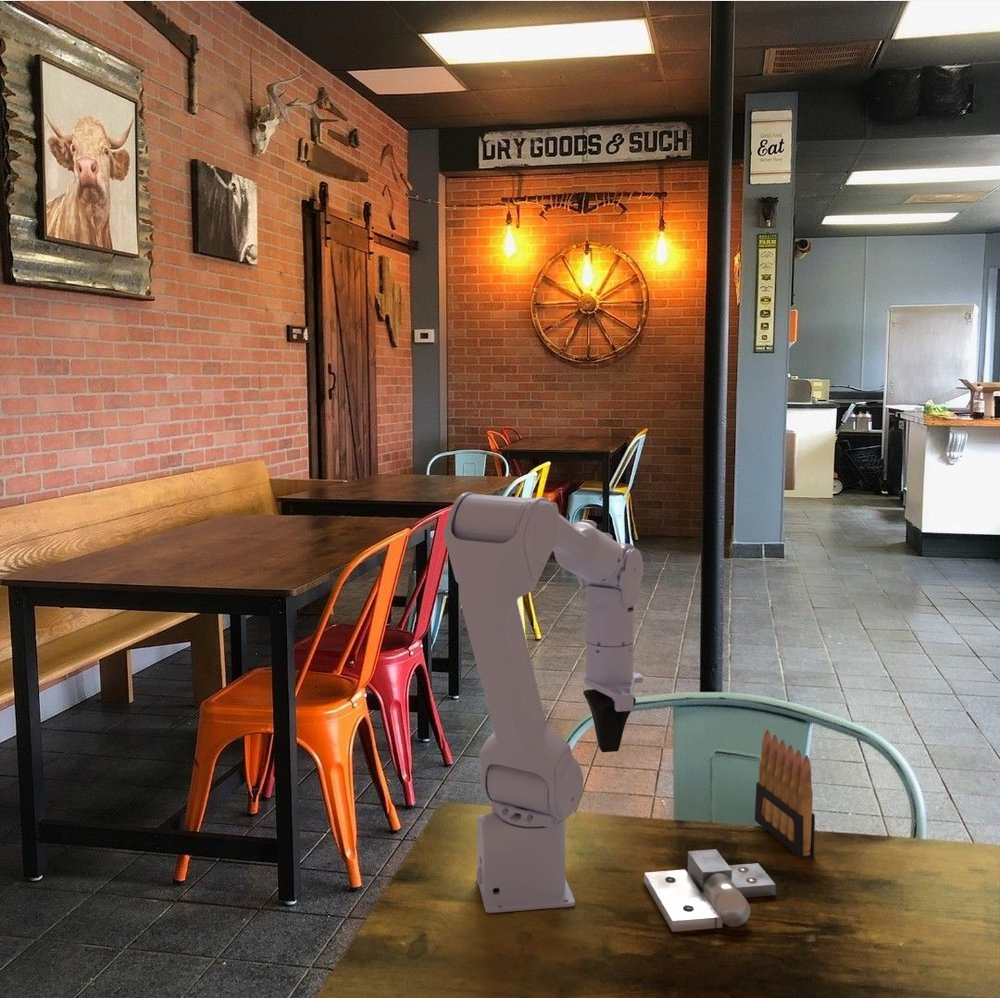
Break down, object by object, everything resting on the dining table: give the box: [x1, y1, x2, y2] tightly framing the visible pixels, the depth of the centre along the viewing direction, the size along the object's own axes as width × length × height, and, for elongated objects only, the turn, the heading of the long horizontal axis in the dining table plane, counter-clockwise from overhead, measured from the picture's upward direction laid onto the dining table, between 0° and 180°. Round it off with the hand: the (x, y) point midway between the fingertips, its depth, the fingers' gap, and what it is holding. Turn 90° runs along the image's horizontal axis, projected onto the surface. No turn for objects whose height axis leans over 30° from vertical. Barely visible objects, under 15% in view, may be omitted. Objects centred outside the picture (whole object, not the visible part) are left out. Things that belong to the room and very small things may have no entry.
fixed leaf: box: [643, 869, 751, 933], centre depth 107 cm, size 8×10×3 cm
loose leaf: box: [687, 848, 777, 899], centre depth 111 cm, size 8×5×3 cm, turn 98°
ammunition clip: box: [754, 729, 816, 859], centre depth 122 cm, size 11×2×12 cm, turn 15°
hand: (608, 749), depth 124 cm, fingers closed
